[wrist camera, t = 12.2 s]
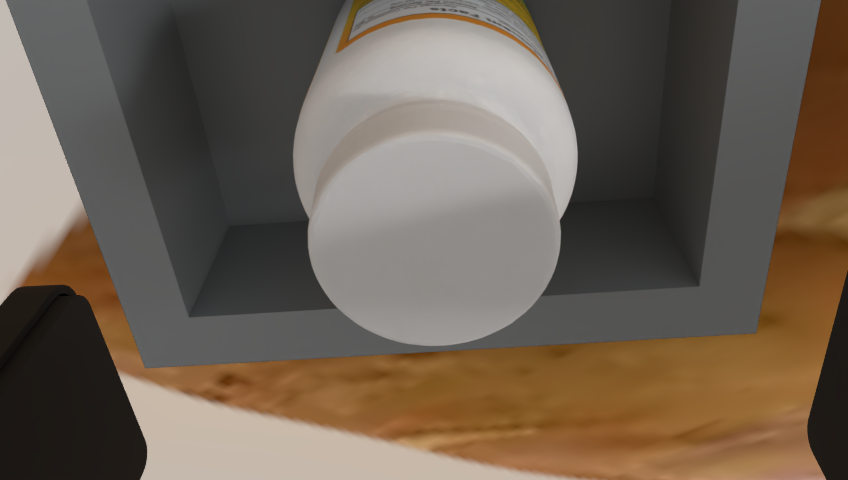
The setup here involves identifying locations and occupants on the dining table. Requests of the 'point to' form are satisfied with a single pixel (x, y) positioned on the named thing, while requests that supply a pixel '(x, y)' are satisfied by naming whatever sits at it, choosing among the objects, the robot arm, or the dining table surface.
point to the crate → (288, 222)
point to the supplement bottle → (434, 167)
